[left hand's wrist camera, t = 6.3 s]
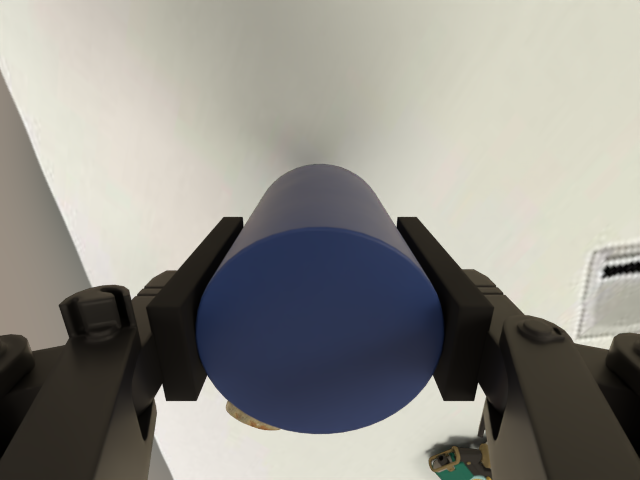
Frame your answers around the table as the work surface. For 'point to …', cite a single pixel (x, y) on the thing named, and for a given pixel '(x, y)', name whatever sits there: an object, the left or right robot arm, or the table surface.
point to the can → (319, 309)
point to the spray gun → (463, 464)
